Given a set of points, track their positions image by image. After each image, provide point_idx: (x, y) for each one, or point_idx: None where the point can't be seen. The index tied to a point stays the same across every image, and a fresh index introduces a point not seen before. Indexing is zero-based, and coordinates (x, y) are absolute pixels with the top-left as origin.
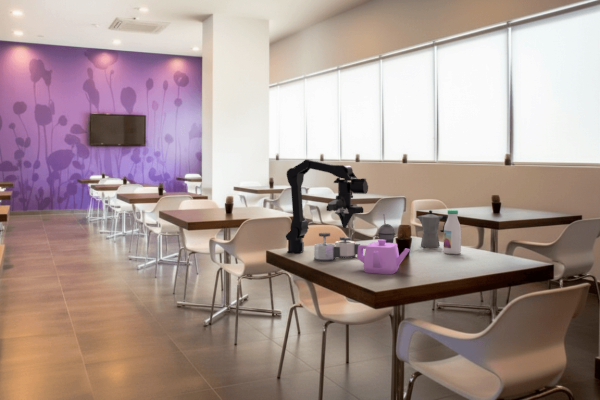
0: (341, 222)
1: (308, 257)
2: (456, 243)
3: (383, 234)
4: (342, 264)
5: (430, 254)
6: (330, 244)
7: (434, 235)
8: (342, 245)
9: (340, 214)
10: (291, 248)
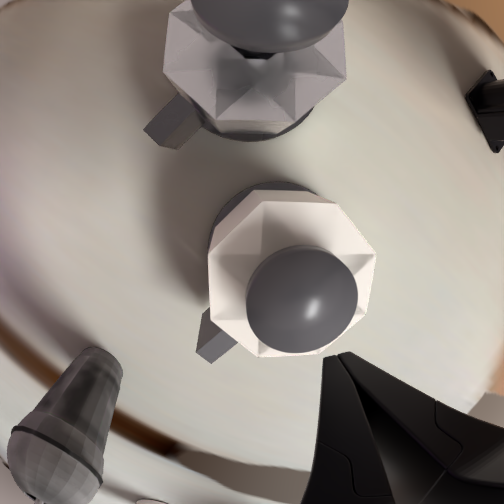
0: (406, 386)
1: (361, 48)
2: None
3: (14, 426)
4: (71, 105)
5: (155, 485)
6: (247, 89)
7: None
8: (238, 219)
9: (494, 500)
10: (497, 80)
